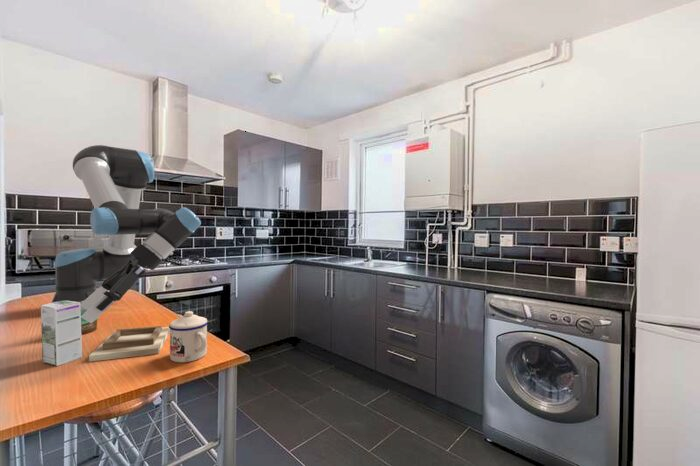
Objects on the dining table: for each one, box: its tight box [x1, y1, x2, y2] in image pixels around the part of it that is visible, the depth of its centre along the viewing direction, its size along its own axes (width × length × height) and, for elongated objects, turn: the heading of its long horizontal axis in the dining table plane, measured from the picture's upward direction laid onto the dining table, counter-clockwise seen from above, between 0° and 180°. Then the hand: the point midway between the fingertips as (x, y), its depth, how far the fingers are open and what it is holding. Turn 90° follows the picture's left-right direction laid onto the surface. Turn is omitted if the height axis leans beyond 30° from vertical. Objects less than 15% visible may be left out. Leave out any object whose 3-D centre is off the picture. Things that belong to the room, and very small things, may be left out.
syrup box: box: [40, 300, 83, 367], centre depth 79 cm, size 6×6×14 cm
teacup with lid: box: [168, 310, 209, 363], centre depth 83 cm, size 12×9×12 cm
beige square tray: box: [88, 325, 170, 362], centre depth 90 cm, size 18×15×3 cm
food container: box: [78, 301, 99, 336], centre depth 99 cm, size 12×6×10 cm, turn 168°
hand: (84, 313), depth 81 cm, fingers open, 13 cm apart
